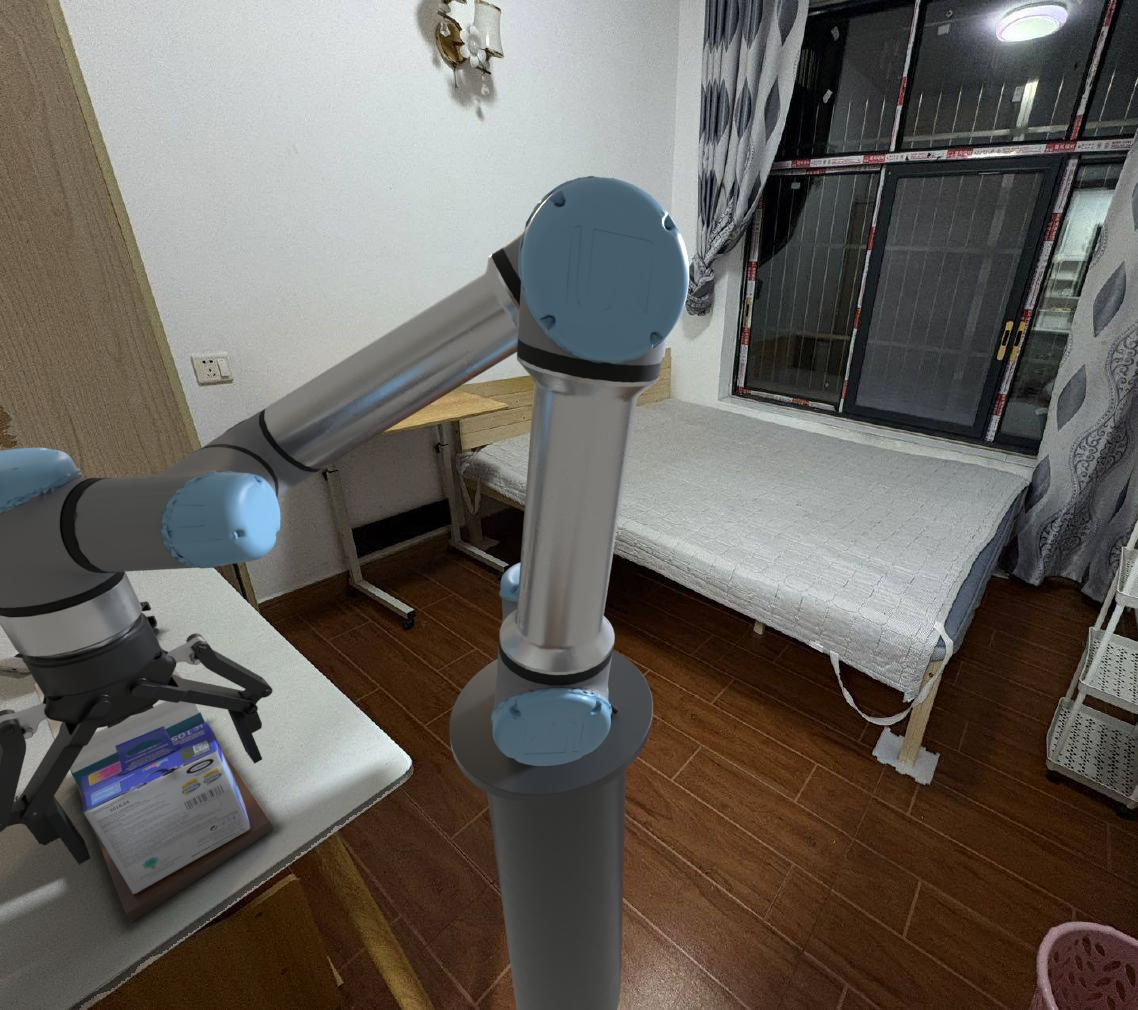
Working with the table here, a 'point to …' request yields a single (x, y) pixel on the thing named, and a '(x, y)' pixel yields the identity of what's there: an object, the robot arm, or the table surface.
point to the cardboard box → (105, 753)
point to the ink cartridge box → (164, 804)
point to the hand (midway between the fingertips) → (175, 799)
